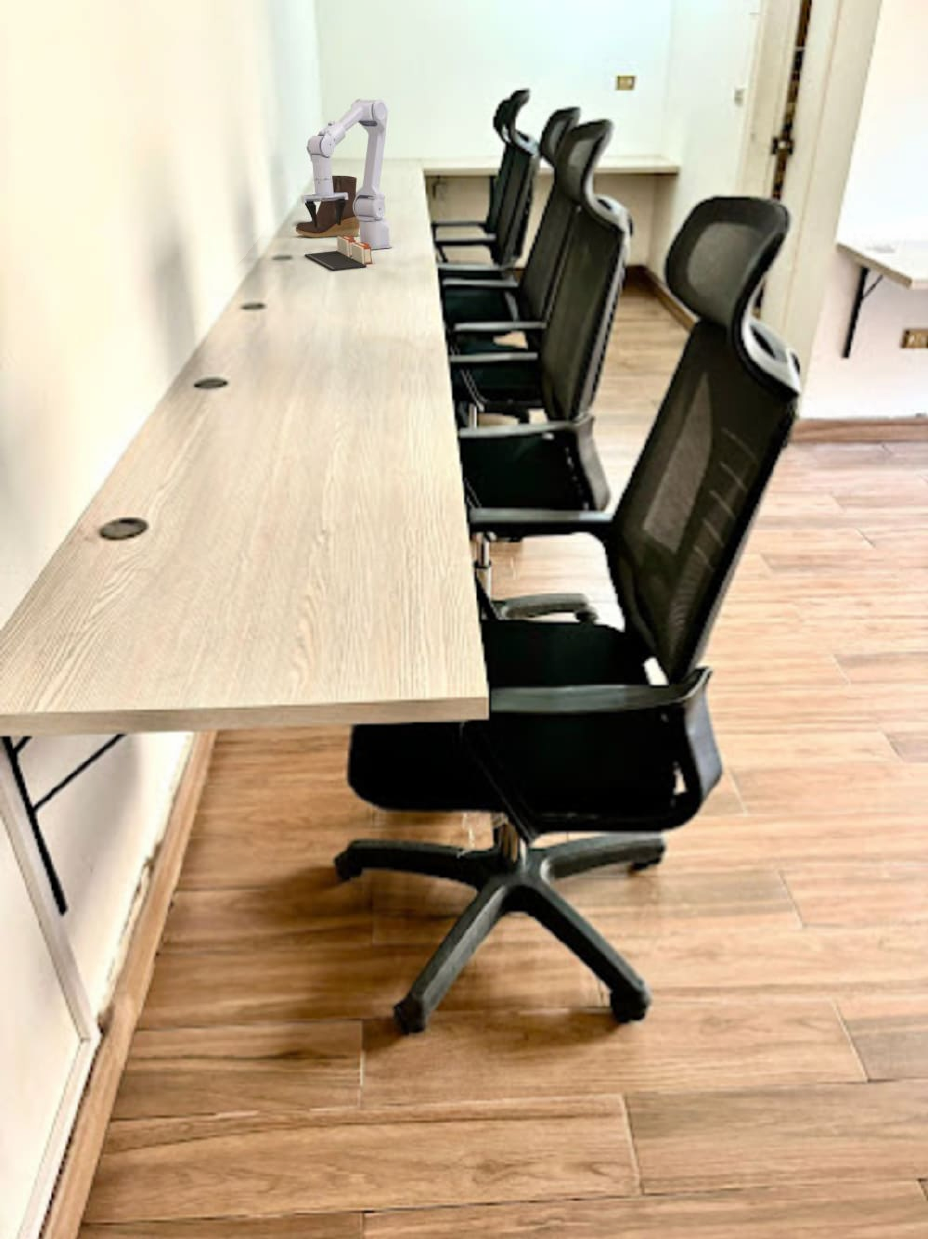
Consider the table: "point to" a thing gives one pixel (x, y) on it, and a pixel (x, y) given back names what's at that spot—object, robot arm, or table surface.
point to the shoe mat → (335, 261)
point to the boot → (334, 213)
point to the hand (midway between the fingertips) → (327, 225)
